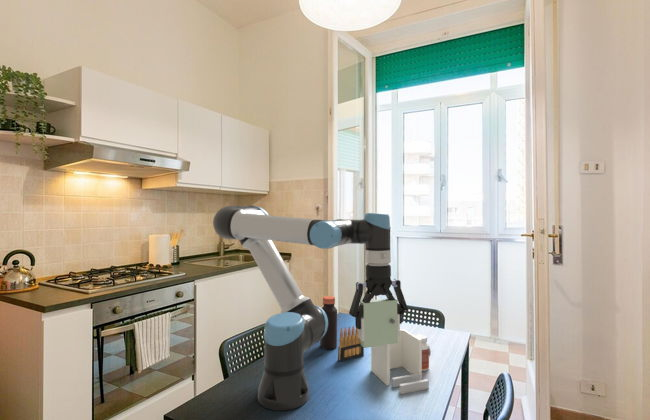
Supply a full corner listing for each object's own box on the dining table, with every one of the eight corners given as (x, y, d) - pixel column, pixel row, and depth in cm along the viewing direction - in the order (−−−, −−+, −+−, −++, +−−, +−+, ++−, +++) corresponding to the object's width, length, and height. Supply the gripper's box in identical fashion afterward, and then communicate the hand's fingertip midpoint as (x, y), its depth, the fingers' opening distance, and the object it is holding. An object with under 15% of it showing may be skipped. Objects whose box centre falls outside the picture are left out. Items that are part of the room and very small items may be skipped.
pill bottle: (432, 370, 120) (432, 339, 120) (416, 372, 119) (416, 340, 119) (423, 362, 126) (423, 332, 126) (407, 364, 125) (408, 333, 125)
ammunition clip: (340, 362, 126) (340, 329, 126) (337, 360, 128) (338, 327, 128) (364, 355, 132) (364, 324, 132) (361, 354, 133) (361, 323, 133)
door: (365, 349, 100) (364, 304, 100) (360, 344, 103) (360, 301, 103) (399, 344, 103) (398, 300, 103) (393, 340, 106) (393, 298, 107)
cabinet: (396, 395, 104) (397, 352, 104) (371, 370, 120) (371, 333, 120) (432, 387, 108) (433, 346, 108) (403, 365, 124) (403, 329, 124)
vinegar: (336, 343, 143) (337, 295, 143) (336, 350, 137) (337, 299, 137) (320, 343, 144) (320, 295, 144) (319, 349, 137) (320, 299, 137)
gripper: (346, 268, 97) (347, 346, 97) (419, 263, 104) (420, 336, 104) (337, 264, 104) (338, 337, 104) (405, 260, 111) (407, 328, 111)
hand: (379, 337), depth 104 cm, fingers closed on door, 11 cm apart
